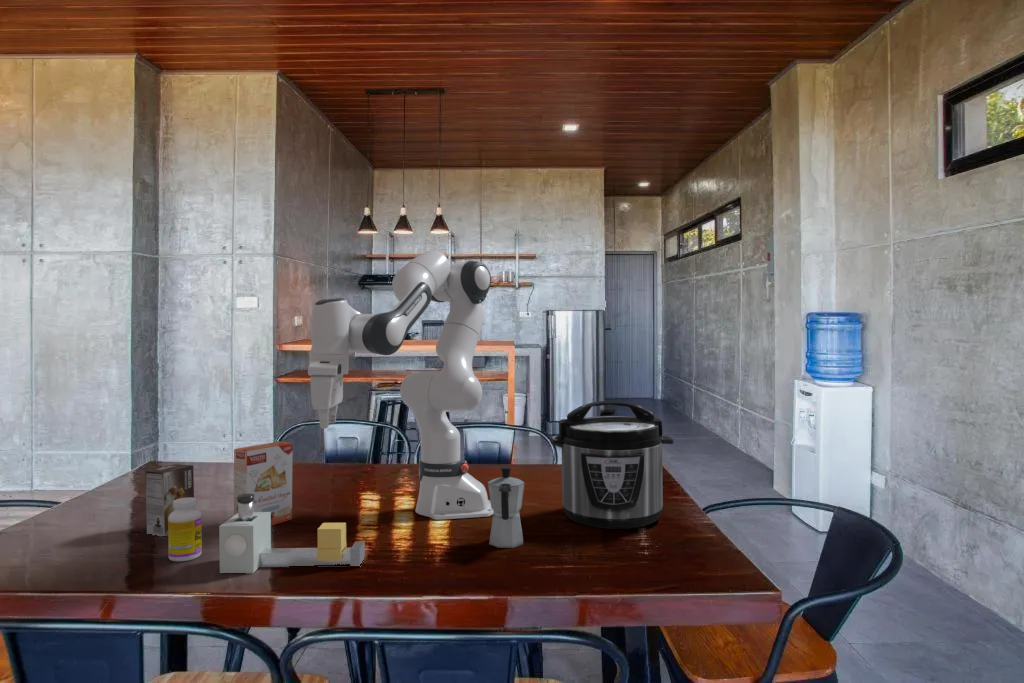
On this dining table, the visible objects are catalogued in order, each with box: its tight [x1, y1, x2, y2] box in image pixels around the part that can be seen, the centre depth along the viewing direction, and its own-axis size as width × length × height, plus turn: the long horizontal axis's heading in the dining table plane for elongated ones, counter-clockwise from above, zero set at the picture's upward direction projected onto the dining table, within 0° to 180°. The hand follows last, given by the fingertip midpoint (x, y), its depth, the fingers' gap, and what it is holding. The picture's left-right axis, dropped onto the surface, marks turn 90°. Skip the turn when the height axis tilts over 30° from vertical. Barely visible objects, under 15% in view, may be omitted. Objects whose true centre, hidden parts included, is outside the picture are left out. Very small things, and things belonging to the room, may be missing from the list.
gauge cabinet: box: [218, 512, 272, 574], centre depth 135 cm, size 7×11×10 cm, turn 1°
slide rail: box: [260, 540, 366, 568], centre depth 136 cm, size 22×5×4 cm, turn 91°
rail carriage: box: [317, 522, 348, 561], centre depth 136 cm, size 5×5×7 cm
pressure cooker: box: [549, 400, 674, 530], centre depth 169 cm, size 30×28×32 cm
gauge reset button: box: [237, 494, 254, 521], centre depth 135 cm, size 3×3×7 cm
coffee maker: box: [487, 466, 525, 549], centre depth 148 cm, size 15×9×18 cm, turn 178°
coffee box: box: [145, 463, 195, 537], centre depth 158 cm, size 9×6×16 cm
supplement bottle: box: [167, 497, 203, 562], centre depth 140 cm, size 7×7×13 cm
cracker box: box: [233, 441, 294, 527], centre depth 163 cm, size 14×6×21 cm, turn 148°
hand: (327, 425), depth 147 cm, fingers open, 8 cm apart
